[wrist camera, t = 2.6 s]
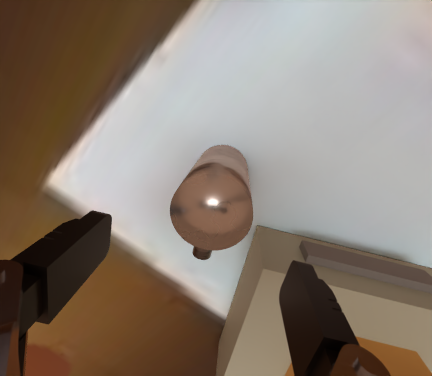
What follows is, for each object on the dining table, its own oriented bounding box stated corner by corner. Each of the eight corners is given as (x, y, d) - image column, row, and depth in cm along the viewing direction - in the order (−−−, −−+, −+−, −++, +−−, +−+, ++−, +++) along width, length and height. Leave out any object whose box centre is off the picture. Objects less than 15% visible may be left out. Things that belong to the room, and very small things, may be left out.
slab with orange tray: (446, 264, 25) (570, 363, 16) (366, 378, 31) (420, 496, 22) (259, 218, 25) (271, 288, 16) (219, 341, 32) (210, 442, 22)
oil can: (202, 139, 23) (177, 165, 13) (253, 151, 23) (263, 186, 13) (189, 205, 25) (159, 266, 16) (235, 217, 25) (232, 285, 16)
